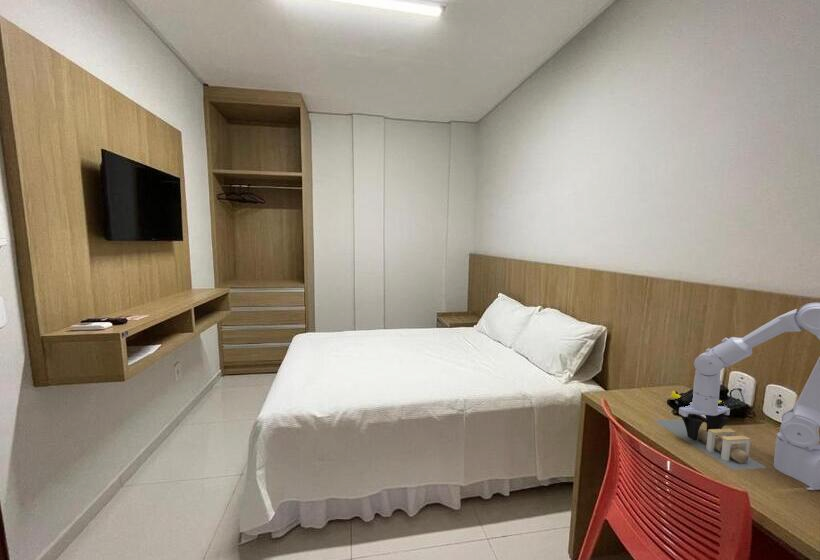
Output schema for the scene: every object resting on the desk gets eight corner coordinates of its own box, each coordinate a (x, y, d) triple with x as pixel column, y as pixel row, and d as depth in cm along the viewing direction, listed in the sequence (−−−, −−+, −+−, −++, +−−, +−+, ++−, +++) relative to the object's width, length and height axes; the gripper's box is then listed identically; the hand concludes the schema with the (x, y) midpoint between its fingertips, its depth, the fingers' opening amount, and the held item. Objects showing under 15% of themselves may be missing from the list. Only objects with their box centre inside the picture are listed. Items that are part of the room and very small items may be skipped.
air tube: (747, 463, 87) (749, 451, 87) (736, 463, 87) (738, 451, 87) (696, 435, 101) (698, 424, 101) (687, 434, 101) (688, 424, 101)
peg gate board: (767, 470, 86) (770, 445, 85) (733, 472, 85) (735, 447, 84) (679, 421, 110) (681, 402, 110) (652, 422, 109) (653, 402, 109)
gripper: (714, 387, 101) (710, 429, 103) (671, 388, 100) (667, 431, 101) (739, 397, 94) (734, 442, 96) (693, 399, 93) (689, 445, 94)
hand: (701, 437), depth 98 cm, fingers open, 6 cm apart
